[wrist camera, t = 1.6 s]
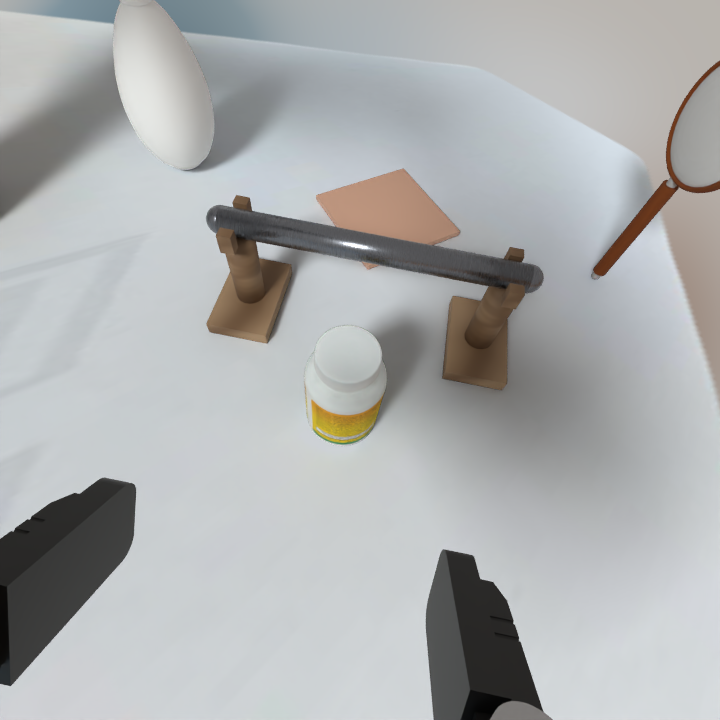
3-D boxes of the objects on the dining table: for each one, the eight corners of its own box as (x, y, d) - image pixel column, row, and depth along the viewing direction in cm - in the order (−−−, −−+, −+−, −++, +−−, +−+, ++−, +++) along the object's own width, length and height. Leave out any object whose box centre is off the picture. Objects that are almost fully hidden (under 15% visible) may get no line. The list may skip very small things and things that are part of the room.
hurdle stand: (209, 332, 36) (175, 250, 28) (240, 263, 40) (218, 173, 32) (501, 390, 35) (556, 323, 27) (502, 314, 39) (550, 236, 31)
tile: (316, 199, 45) (316, 195, 45) (402, 172, 48) (403, 168, 48) (367, 269, 41) (367, 266, 40) (458, 235, 44) (460, 231, 44)
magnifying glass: (615, 313, 40) (834, 95, 23) (598, 313, 40) (805, 92, 23) (589, 247, 45) (757, 21, 27) (574, 246, 44) (732, 19, 27)
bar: (205, 237, 30) (198, 215, 29) (215, 218, 31) (209, 196, 30) (536, 301, 30) (549, 282, 28) (535, 280, 31) (548, 261, 29)
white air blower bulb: (197, 196, 44) (129, -27, 29) (134, 172, 45) (34, -54, 30) (237, 155, 48) (196, -61, 32) (177, 134, 49) (110, -85, 33)
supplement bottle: (296, 399, 33) (288, 331, 25) (357, 375, 35) (368, 303, 27) (324, 460, 31) (324, 407, 23) (388, 431, 33) (410, 372, 24)
